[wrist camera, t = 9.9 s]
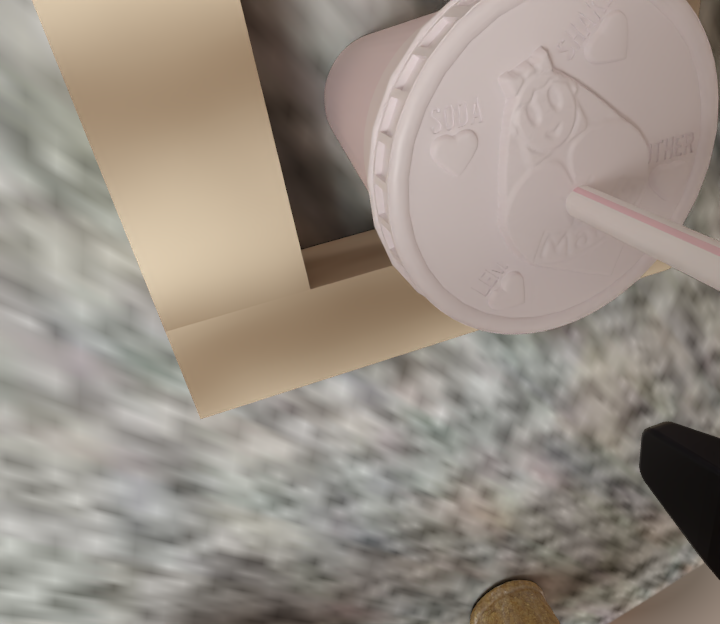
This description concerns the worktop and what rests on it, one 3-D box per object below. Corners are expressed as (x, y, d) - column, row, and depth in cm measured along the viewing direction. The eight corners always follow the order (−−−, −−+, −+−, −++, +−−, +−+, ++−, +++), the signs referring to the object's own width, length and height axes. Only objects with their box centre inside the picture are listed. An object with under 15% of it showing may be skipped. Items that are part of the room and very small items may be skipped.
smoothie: (351, 236, 20) (633, 578, 8) (233, 66, 16) (416, 217, 5) (506, 124, 20) (1033, 303, 8) (419, -72, 16) (1115, -288, 4)
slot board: (615, 239, 23) (671, 268, 21) (196, 367, 20) (200, 418, 18) (641, -240, 16) (732, -287, 13) (-2, -145, 13) (-42, -182, 11)
